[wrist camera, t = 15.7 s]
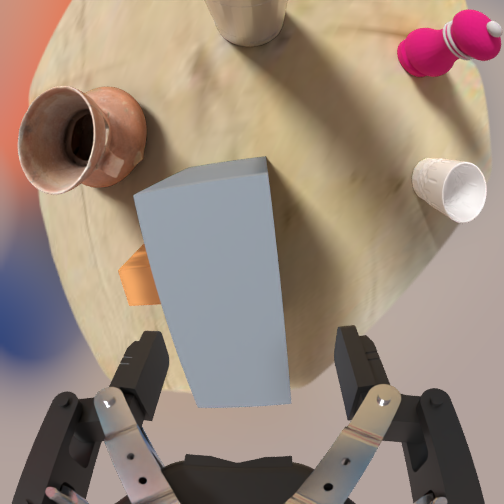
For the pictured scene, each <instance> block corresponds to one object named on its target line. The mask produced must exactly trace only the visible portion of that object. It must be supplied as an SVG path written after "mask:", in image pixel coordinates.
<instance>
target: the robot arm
mask: <svg viewBox="0 0 504 504" xmlns="http://www.w3.org/2000/svg"><path fill="white" fill-rule="evenodd" d="M287 1H288V0H205V3H206V5H207V7H208V9H209V11H210V13H211V15H212V18H213V20H214V22H215V24H216V27H217V29H218V31H219V32H220V34H221V35H222V36H223V37H224V38H225V39H226V40H228V41H229V42H231V43H233V44H236V45H240V46H248V47H252V46H259V45H262V44H265V43H267V42H269V41H271V40H272V39H273V38H275V37H276V36H277V35H278V33H279V32H280V31H281V28H282V26H283V21H284V16H285V12H286V7H287ZM334 361H335V366H336V370H337V374H338V379H339V383H340V388H341V392H342V396H343V401H344V405H345V410H346V415H347V419H348V420H351V422H350V423H349V425H348V426H347V427H345V428H344V429H343V430H342V432H341V433H340V434H339V436H338V437H337V439H336V440H335V442H334V443H333V445H332V446H331V448H330V449H329V450H328V452H327V453H326V455H325V456H324V457H323V459H322V460H321V461H320V463H319V464H318V465H317V467H316V468H315V469H312V468H310V467H308V466H305V465H303V464H299V463H294V462H292V456H285V457H264V458H259V459H255V460H250V461H246V462H241V463H235V462H231V461H227V460H223V459H219V458H216V457H212V456H202V455H190V454H186V456H185V461H179V462H175V463H172V464H170V465H168V466H164V464H163V463H162V461H161V460H160V458H159V457H158V455H157V453H156V451H155V450H154V448H153V446H152V444H151V442H150V440H149V439H148V437H147V435H146V433H145V431H144V429H143V427H142V424H143V421H144V420H148V421H152V419H153V416H154V413H155V409H156V406H157V403H158V400H159V396H160V393H161V390H162V386H163V383H164V380H165V377H166V374H167V371H168V367H169V355H168V352H167V349H166V346H165V342H164V339H163V336H162V333H161V332H160V331H144V332H143V334H142V336H141V338H140V341H134V342H133V343H132V344H131V345H130V346H129V347H128V348H127V350H126V352H125V354H124V358H122V360H121V362H120V363H121V364H119V367H118V369H117V371H116V373H115V375H114V377H113V380H112V382H111V384H110V386H109V387H107V388H104V389H102V390H100V391H99V392H98V393H97V394H96V396H95V397H94V398H87V399H78V398H77V397H76V395H75V394H74V393H72V392H63V393H60V394H58V395H57V396H56V397H55V398H54V400H53V401H52V404H51V406H50V408H49V410H48V412H47V414H46V416H45V419H44V421H43V423H42V425H41V428H40V430H39V432H38V435H37V437H36V439H35V442H34V444H33V446H32V449H31V452H30V454H29V456H28V459H27V461H26V464H25V467H24V469H23V472H22V475H21V478H20V480H19V483H18V486H17V489H16V492H15V495H14V498H13V501H12V504H89V503H88V501H87V500H86V496H87V492H88V488H89V484H90V480H91V477H92V473H93V469H94V466H95V462H96V459H97V455H98V452H99V448H100V445H101V442H102V441H104V442H105V445H106V448H107V450H108V453H109V455H110V458H111V460H112V462H113V465H114V467H115V469H116V472H117V474H118V476H119V478H120V480H121V483H122V485H123V487H124V489H125V491H126V493H127V495H126V496H125V497H124V498H122V499H121V500H120V501H118V502H117V503H115V504H355V503H354V502H353V501H352V500H350V499H349V498H348V496H349V495H350V493H351V492H352V490H353V489H354V487H355V486H356V484H357V482H358V481H359V479H360V478H361V476H362V475H363V473H364V471H365V470H366V468H367V466H368V465H369V463H370V461H371V459H372V458H373V456H374V454H375V452H376V450H377V449H378V447H379V445H380V443H381V441H394V442H402V447H403V451H404V456H405V461H406V465H407V470H408V475H409V481H410V486H411V492H412V497H413V503H414V504H485V503H484V499H483V495H482V491H481V487H480V483H479V480H478V476H477V473H476V469H475V467H474V463H473V460H472V457H471V453H470V451H469V447H468V444H467V442H466V439H465V436H464V433H463V430H462V428H461V425H460V423H459V420H458V417H457V414H456V412H455V409H454V407H453V404H452V402H451V399H450V397H449V395H448V394H447V393H446V392H444V391H443V390H440V389H435V388H433V389H429V390H426V391H425V392H424V393H423V394H422V396H409V395H403V394H400V393H399V391H398V390H397V389H396V388H395V387H393V386H391V385H390V383H389V381H388V378H387V375H386V373H385V370H384V368H383V365H382V362H381V360H380V358H379V355H378V353H377V350H376V347H375V345H374V343H373V341H372V340H370V339H369V338H368V337H367V336H366V335H365V336H359V335H358V332H357V329H356V327H355V326H354V325H352V326H341V327H338V329H337V336H336V343H335V350H334Z"/></svg>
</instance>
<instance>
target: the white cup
mask: <svg viewBox="0 0 504 504" xmlns="http://www.w3.org/2000/svg"><path fill="white" fill-rule="evenodd" d="M412 184H413V189H414V191H415V192H416V194H417V196H418V197H420V198H421V199H423V200H425V201H426V202H427V203H428V204H429V205H431V206H432V207H433V208H435V209H437V210H438V211H440V212H441V213H443V214H444V215H446V216H447V217H449V218H450V219H452V220H453V221H455V222H458V223H467V222H470V221H472V220H473V219H475V218H476V217H477V216H478V215H479V213H480V212H481V210H482V208H483V206H484V203H485V200H486V194H487V192H486V191H487V188H486V181H485V178H484V175H483V173H482V172H481V170H480V169H479V168H478V167H477V166H476V165H474V164H473V163H470V162H464V161H457V160H450V159H441V158H438V159H434V158H426V159H423V160H421V161H419V163H418V164H417V165H416V167H415V168H414V171H413V175H412Z"/></svg>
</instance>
